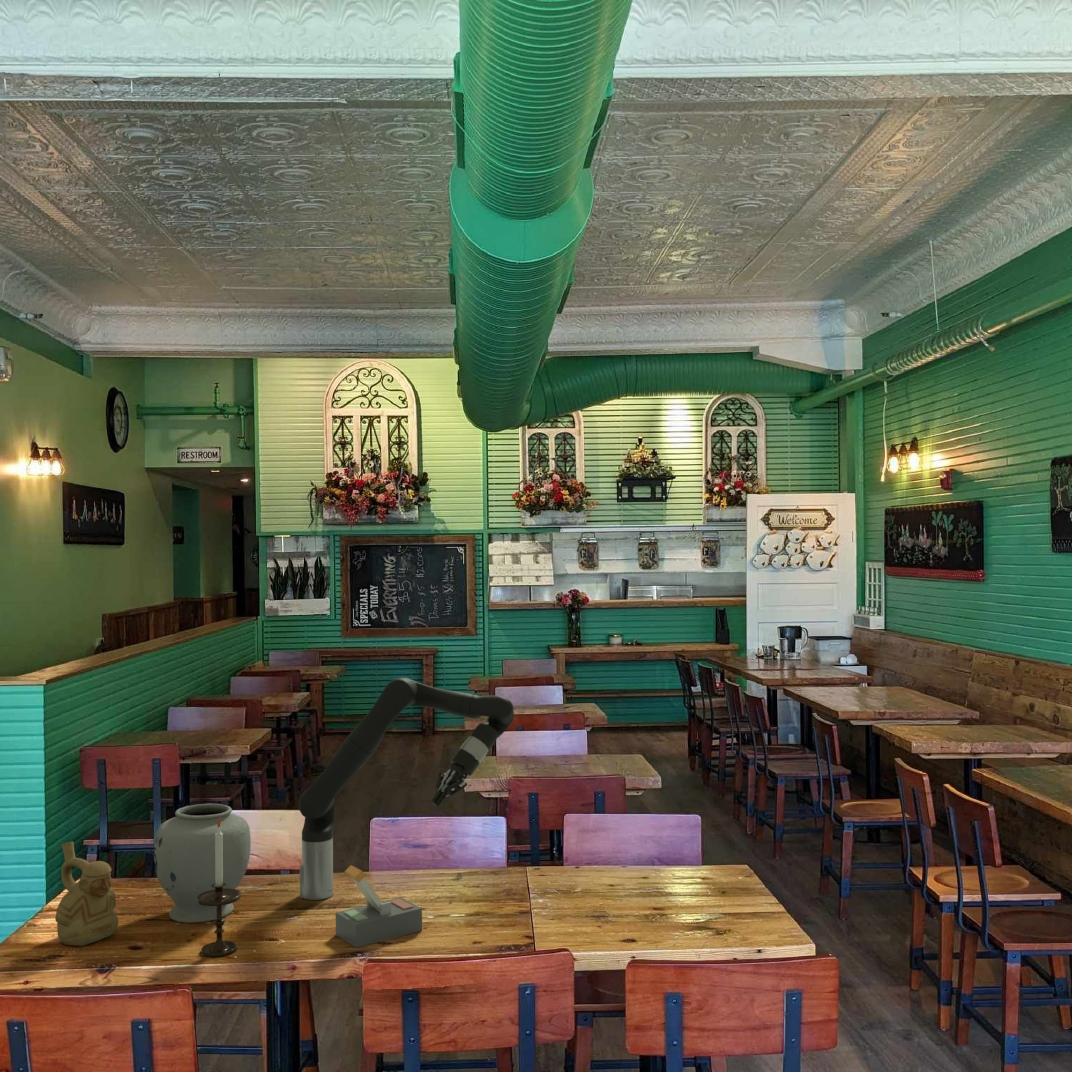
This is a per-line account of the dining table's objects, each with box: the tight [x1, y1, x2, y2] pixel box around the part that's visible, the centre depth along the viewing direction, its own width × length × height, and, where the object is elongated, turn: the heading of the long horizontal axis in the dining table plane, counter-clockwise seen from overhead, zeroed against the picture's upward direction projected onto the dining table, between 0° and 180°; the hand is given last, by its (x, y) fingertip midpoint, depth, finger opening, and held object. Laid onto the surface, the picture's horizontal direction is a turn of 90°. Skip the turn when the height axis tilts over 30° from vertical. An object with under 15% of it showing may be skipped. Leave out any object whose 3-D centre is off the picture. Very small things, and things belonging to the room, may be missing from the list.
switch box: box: [335, 896, 423, 949], centre depth 273 cm, size 20×12×9 cm, turn 127°
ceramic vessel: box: [54, 841, 119, 947], centre depth 273 cm, size 17×20×25 cm
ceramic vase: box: [153, 803, 252, 924], centre depth 291 cm, size 27×27×30 cm
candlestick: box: [197, 817, 242, 958], centre depth 262 cm, size 11×11×35 cm
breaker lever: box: [344, 864, 383, 910], centre depth 271 cm, size 2×6×14 cm
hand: (434, 804), depth 286 cm, fingers closed
